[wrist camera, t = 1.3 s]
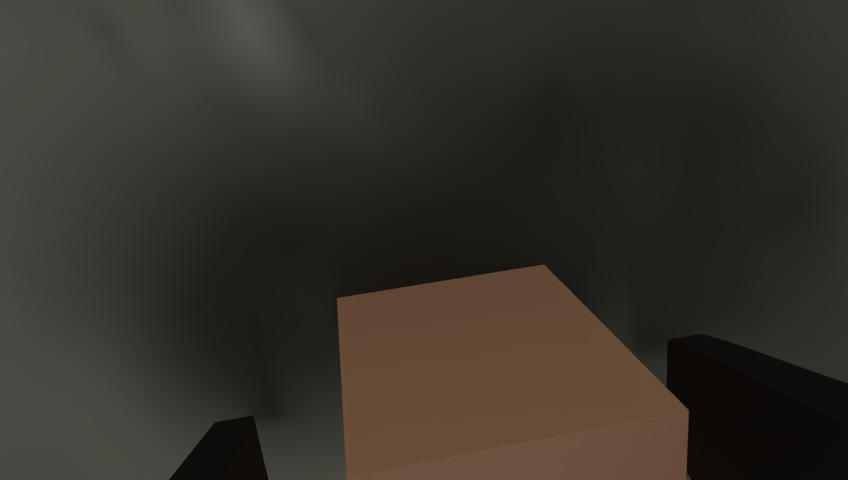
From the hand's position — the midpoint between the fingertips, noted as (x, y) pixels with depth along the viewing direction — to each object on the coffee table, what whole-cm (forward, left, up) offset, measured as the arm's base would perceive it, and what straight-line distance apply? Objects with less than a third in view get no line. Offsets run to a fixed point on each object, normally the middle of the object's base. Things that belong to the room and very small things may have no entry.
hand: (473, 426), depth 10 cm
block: (0, 0, -2) cm, 2 cm away
